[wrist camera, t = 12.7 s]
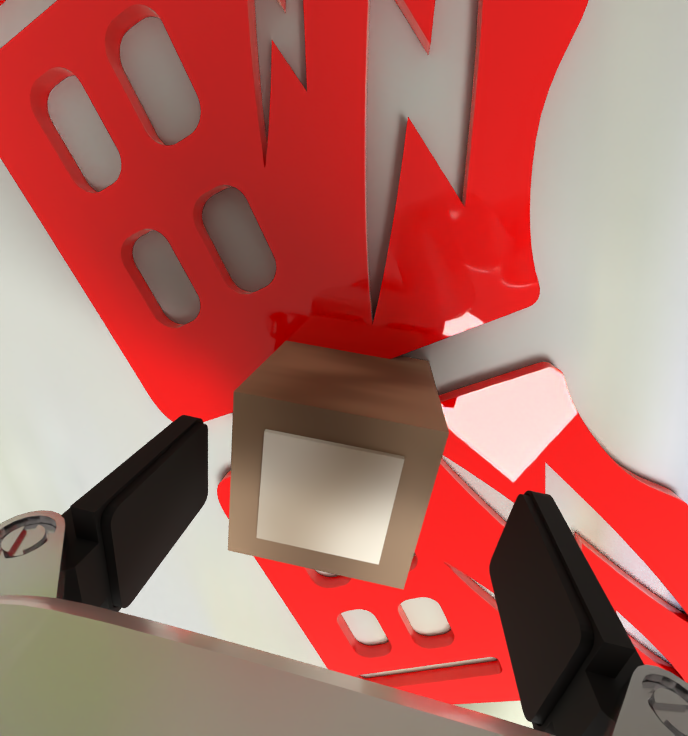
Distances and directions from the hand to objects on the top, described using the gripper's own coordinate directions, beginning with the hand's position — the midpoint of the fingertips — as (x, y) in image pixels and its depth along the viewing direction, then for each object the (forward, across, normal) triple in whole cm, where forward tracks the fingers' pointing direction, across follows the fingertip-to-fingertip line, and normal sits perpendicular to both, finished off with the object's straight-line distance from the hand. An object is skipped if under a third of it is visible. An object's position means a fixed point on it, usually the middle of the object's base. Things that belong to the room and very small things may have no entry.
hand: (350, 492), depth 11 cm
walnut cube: (+6, +1, 0) cm, 6 cm away
